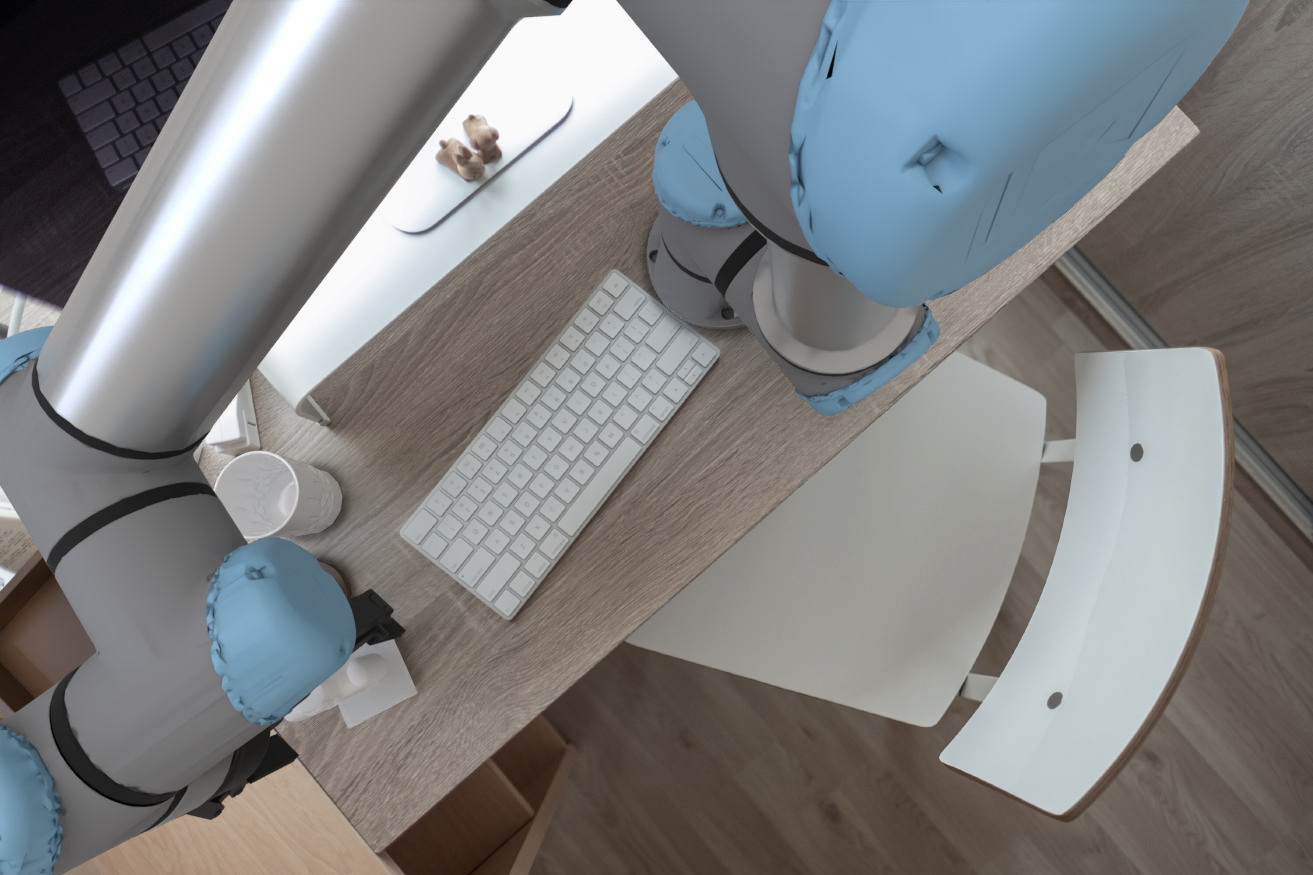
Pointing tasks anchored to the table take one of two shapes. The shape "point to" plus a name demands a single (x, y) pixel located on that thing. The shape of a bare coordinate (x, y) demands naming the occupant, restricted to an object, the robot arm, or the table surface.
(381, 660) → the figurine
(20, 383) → the robot arm
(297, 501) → the white cup
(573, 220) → the table surface
